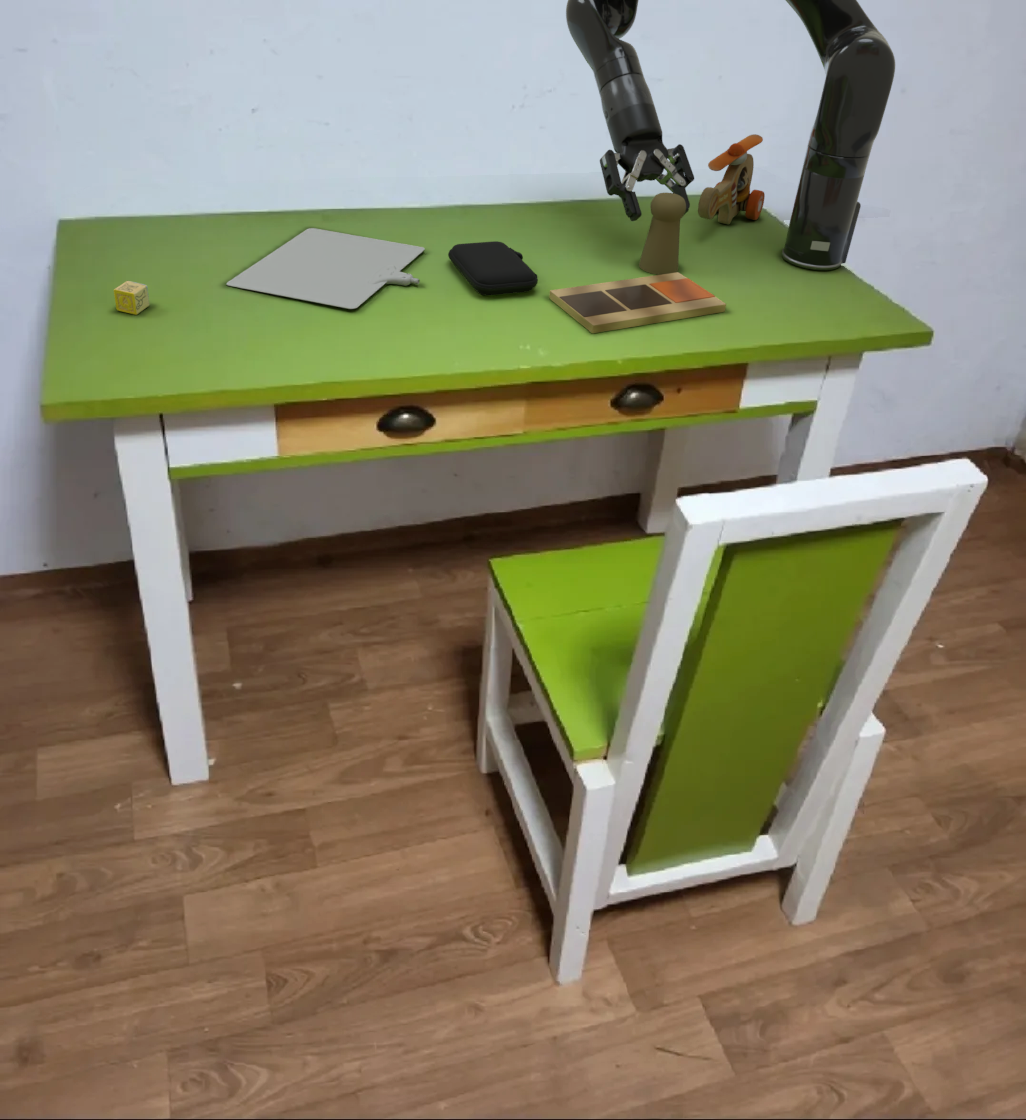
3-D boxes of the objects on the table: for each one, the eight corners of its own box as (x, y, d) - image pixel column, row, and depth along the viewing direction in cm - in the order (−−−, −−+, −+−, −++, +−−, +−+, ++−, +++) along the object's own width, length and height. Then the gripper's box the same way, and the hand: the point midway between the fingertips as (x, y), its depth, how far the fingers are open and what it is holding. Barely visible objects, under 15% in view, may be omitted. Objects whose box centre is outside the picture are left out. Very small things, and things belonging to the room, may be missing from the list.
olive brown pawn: (676, 277, 159) (689, 204, 152) (636, 271, 160) (647, 198, 153) (679, 262, 164) (692, 191, 157) (640, 257, 164) (651, 186, 158)
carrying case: (548, 294, 150) (510, 255, 161) (550, 274, 149) (512, 236, 159) (478, 301, 147) (444, 260, 158) (479, 280, 145) (444, 240, 156)
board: (676, 279, 158) (678, 271, 158) (724, 311, 150) (726, 303, 149) (548, 298, 149) (549, 289, 149) (592, 333, 141) (593, 324, 140)
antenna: (381, 319, 140) (381, 310, 139) (224, 288, 145) (223, 280, 145) (450, 256, 159) (451, 248, 158) (309, 231, 164) (309, 224, 164)
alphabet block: (150, 306, 138) (147, 284, 136) (137, 315, 136) (134, 293, 134) (129, 302, 139) (126, 279, 137) (116, 311, 136) (112, 288, 134)
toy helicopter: (763, 215, 185) (781, 133, 176) (721, 249, 170) (738, 162, 162) (719, 204, 188) (734, 123, 179) (674, 237, 173) (689, 150, 165)
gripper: (601, 103, 153) (632, 208, 152) (682, 98, 159) (712, 200, 158) (578, 131, 160) (608, 232, 159) (657, 125, 166) (686, 223, 165)
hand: (660, 216), depth 158 cm, fingers open, 8 cm apart
